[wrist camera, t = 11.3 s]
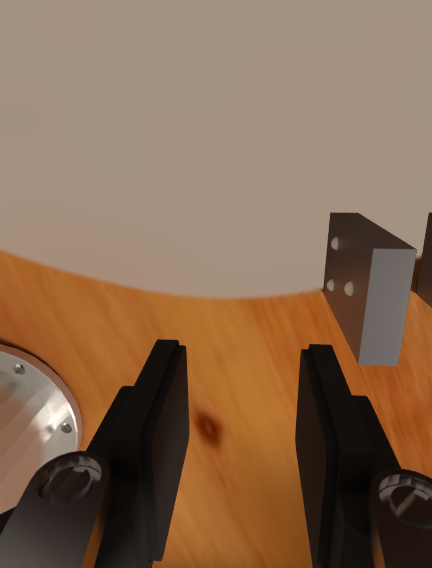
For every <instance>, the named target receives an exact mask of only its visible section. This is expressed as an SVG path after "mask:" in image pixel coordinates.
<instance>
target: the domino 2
mask: <svg viewBox="0 0 432 568" xmlns="http://www.w3.org/2000/svg"><path fill="white" fill-rule="evenodd" d="M416 294H417V295H418V296H419V297H420V298H422V299H423V300H424V301H425V302H426V303H427V304H428V305H429V306H431V307H432V213H429V216H428V222H427V228H426V234H425V240H424V247H423V253H422V259H421V265H420V272H419V278H418V284H417V290H416Z"/></svg>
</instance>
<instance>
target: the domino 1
mask: <svg viewBox="0 0 432 568" xmlns="http://www.w3.org/2000/svg"><path fill="white" fill-rule="evenodd" d="M416 253H417V249H415V248H414V247H412V246H411V245H409V244H407V243H406V242H404V241H402V240H401V239H399V238H398V237H396V236H394V235H393V234H391V233H390V232H388V231H386V230H385V229H383V228H381V227H380V226H378V225H377V224H375V223H373V222H372V221H370V220H368V219H367V218H365V217H364V216H362V215H361V214H359V213H330V223H329V233H328V245H327V255H326V266H325V278H324V287H323V293H324V295H325V297H326V299H327V301H328V303H329V305H330V307H331V309H332V311H333V313H334V315H335V317H336V320H337V322H338V324H339V326H340V328H341V330H342V332H343V334H344V336H345V338H346V340H347V342H348V344H349V346H350V348H351V351H352V353H353V355H354V357H355V359H356V361H357V363H358V364H360V365H382V366H398V360H399V355H400V349H401V343H402V337H403V331H404V325H405V319H406V313H407V307H408V301H409V295H410V289H411V283H412V277H413V271H414V265H415V259H416Z"/></svg>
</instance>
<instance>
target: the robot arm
mask: <svg viewBox="0 0 432 568" xmlns="http://www.w3.org/2000/svg"><path fill="white" fill-rule="evenodd" d="M81 438H82V419H81V415H80V412H79V408H78V405H77V403H76V401H75V399H74V397H73V395H72V393H71V391H70V390H69V388H68V387H67V386H66V385H65V383H64V382H63V381H62V379H61V378H60V377H59V376H58V375H57V374H56V373H55V372H54V371H53V370H51V369H50V368H49V367H48V366H47V365H45V364H44V363H42V362H41V361H39V360H38V359H37V358H35V357H34V356H31V355H29V354H27V353H25V352H23V351H21V350H19V349H16V348H12V347H9V346H6V345H2V344H0V568H152V564H153V561H162V558H163V554H164V550H165V545H166V541H167V536H168V532H169V527H170V523H171V518H172V514H173V509H174V505H175V500H176V496H177V491H178V487H179V482H180V478H181V473H182V468H183V464H184V459H185V455H186V450H187V446H188V441H189V406H188V380H187V354H186V346H183V345H179V341H178V340H160V339H158V340H157V341H156V343H155V345H154V347H153V349H152V351H151V353H150V355H149V357H148V359H147V361H146V363H145V365H144V367H143V369H142V371H141V373H140V375H139V377H138V379H137V381H136V383H135V385H134V386H123V387H121V389H120V390H119V392H118V394H117V395H116V397H115V399H114V401H113V403H112V404H111V406H110V408H109V410H108V412H107V414H106V415H105V417H104V419H103V421H102V423H101V424H100V426H99V428H98V430H97V432H96V433H95V435H94V437H93V439H92V441H91V442H90V444H89V446H88V448H87V450H86V451H78V449H79V446H80V444H81ZM295 441H296V452H297V459H298V466H299V473H300V480H301V487H302V494H303V501H304V508H305V515H306V522H307V529H308V536H309V543H310V551H311V558H312V565H313V568H432V478H430V477H428V476H425V475H423V474H421V473H418V472H416V471H411V470H407V469H401V467H400V465H399V463H398V461H397V459H396V456H395V454H394V452H393V450H392V448H391V446H390V443H389V441H388V439H387V437H386V435H385V433H384V430H383V428H382V426H381V424H380V422H379V420H378V417H377V415H376V413H375V411H374V409H373V407H372V404H371V402H370V400H369V399H368V397H366V396H357V395H351V392H350V390H349V387H348V385H347V382H346V380H345V377H344V375H343V372H342V370H341V367H340V365H339V362H338V360H337V357H336V355H335V352H334V350H333V347H332V345H322V344H310V345H309V348H308V349H302V350H301V356H300V372H299V387H298V403H297V418H296V434H295Z"/></svg>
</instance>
